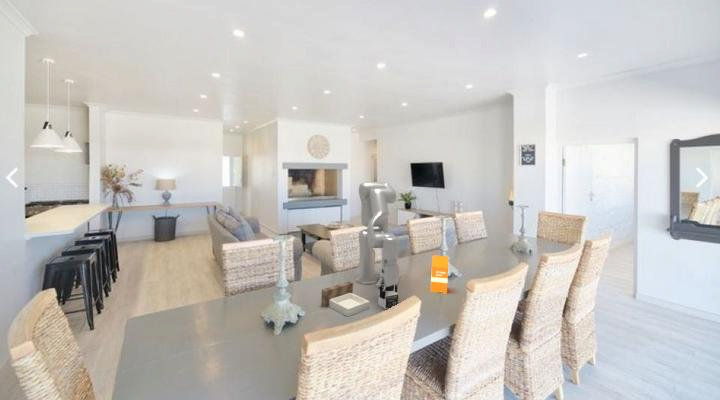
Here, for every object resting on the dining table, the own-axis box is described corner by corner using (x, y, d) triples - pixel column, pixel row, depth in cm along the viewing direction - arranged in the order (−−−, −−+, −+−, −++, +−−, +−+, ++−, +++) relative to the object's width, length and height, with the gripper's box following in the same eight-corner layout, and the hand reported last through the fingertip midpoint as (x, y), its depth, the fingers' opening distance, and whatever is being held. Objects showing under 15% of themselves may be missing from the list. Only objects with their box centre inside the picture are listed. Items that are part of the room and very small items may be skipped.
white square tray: (350, 299, 167) (350, 292, 167) (369, 308, 157) (369, 301, 157) (328, 306, 158) (328, 299, 157) (347, 316, 148) (348, 309, 147)
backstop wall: (348, 296, 171) (349, 281, 170) (352, 297, 169) (352, 283, 168) (321, 305, 159) (321, 289, 158) (325, 307, 157) (325, 291, 156)
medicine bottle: (385, 310, 156) (386, 286, 155) (378, 304, 162) (378, 281, 161) (397, 307, 159) (398, 284, 158) (390, 302, 166) (391, 279, 164)
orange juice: (446, 293, 180) (449, 258, 178) (430, 291, 181) (432, 257, 179) (446, 288, 187) (448, 254, 185) (430, 286, 189) (432, 253, 187)
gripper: (383, 266, 150) (382, 302, 151) (406, 260, 162) (405, 293, 163) (372, 263, 155) (370, 298, 157) (395, 257, 167) (393, 289, 169)
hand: (388, 295), depth 160 cm, fingers closed on medicine bottle, 8 cm apart
